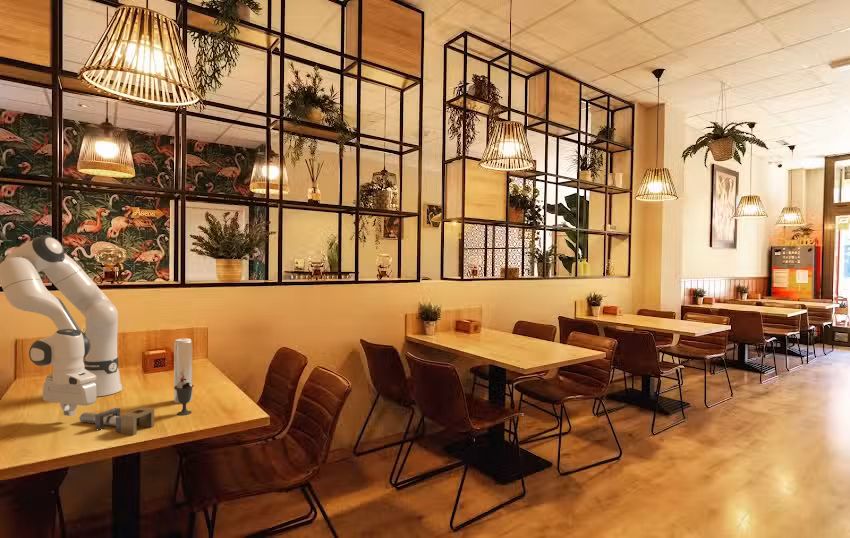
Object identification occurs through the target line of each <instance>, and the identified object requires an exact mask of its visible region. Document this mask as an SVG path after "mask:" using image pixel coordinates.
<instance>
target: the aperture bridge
mask: <svg viewBox="0 0 850 538" xmlns="http://www.w3.org/2000/svg"><path fill="white" fill-rule="evenodd" d="M137 413H138V414H137ZM120 416H121V433H120V434H121V435H129V436H136V435H137V428H138V427H144V428H151V429H152V428H154V427H155V408H154V407H153V408H152V407H146V406H145V407H143V406H142V407H141V406H140V407H138V408H136V409H134V410H133V409H132V410H130V411H129V412H125V413H123V414H120ZM136 418H139V426H137V425H136Z"/></svg>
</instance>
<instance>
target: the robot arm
mask: <svg viewBox="0 0 850 538" xmlns="http://www.w3.org/2000/svg"><path fill="white" fill-rule="evenodd" d="M40 272H43V273H44V274H45V275H46V277H47V278H48V279H49V280H50V282H51V283H52V284H53V285H54V287H56V289H57V290H59V291H60V293H61V294H62V295H63V296H64V297H65V298H66V300H67V301H69V303H71V304H72V305H73V306H74V307H75V308H76V309H77V310H78V311H79V312H80V313H81V314H82V315H83V316H84V318H85V332H83V331H82V330H81V329H80V327H79V325H78V323H77V322H76V321H75V320H74V318H73V316H72V315H71V312H70V311H69V310H68V308H67V307H66V305H65V304H64V303H63V302H62V300H61V298H59V297H57V296H55V295H53V293H52V292H50V291H49V289H47V287H46V285H45V284H44V283H43V280H42V278H41V276H40V274H39V273H40ZM0 284H1V289H2V291H3V293H4V295H5V297H6V300H7V302H8V303H9V304H10V305H11V306H12V307H13V308H16V309H17V310H21V311H24V312H30V313H35V314H39V315H41V316H42V315H43V316H44V317H45V316H46V317H47V318H49V319H50V320H52V322H53V324H54V325H55V327H56V328H57V330H56V331H54V333H53V334H51V335H50V336H47V337H44V338H41V339H37V340H35V341H34V342H32V344H31V345H30V347H29V351H28V356H29V360H30V361H31V362H32V363H33V364H34V365H36V366H39V367H49V366H52V374H51V373H50V374H48V375H47V376H46V377H45V381H44V383H43V386H42V395H41V396H42V400H43V401H45V402H52V403H58V404H59V403H60V404H59V405H60V407H61V410H62V411H63V414H62V415H63V416H67V417H68V416H69V417H72V416H74V415H75V413H76V409H77V407H78V406H84V407H87V406H90V405H93V404H95V402H96V401H97V397H105V396H110V395H113V394H117V393H119V392H122V390H123V384H122V382H121V375H120V369H119V366H120V363H119V362H120V360H119V359H120V358H119V357H118V333H119V331H118V330H119V329H118V328H119V311H118V309H117V307H116V306H115V305H114V303H113V302H112V301H111V300H110V299H109V297H108V296H106V294H105V293H104V292H103V291H102V290H101V288H99V286H98V285H97V284H96V283H95V281H93V279H92V278H91V277H90V276H89V275H88V274H87V273H86V272H85V270H83V268H82V267H81V266H80V265H79V264H78V263H77V262H76V261H75V260H74V259H72V258H71V256H69V255H68V254H67V253H65V248H64V247H63V244H62V243H61V242H60V241H59V240H58V239H56V238H55V237H52V236H50V235H41V236H38V237H36V238H34V239H33V240H30V241H28V242H26V243H24V244H21V245H19V246H18V247H17V248H15V249H14V250H13V251H11V252H10V253H8V254H5V255H4V256H3V257H2V258H1V259H0ZM84 359H85V360H84Z"/></svg>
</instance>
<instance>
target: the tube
mask: <svg viewBox="0 0 850 538" xmlns="http://www.w3.org/2000/svg"><path fill="white" fill-rule="evenodd" d="M97 414H98V413H92V412H83V413H82V414H81V415H80V416H79V421H80V422H81V423H86V422H87V423H88V424H94V423H95V415H97ZM116 417H119V416H112V414H111V415H109V416H106V417H103V426H111V427H112V426H113V427H116Z"/></svg>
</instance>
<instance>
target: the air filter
mask: <svg viewBox="0 0 850 538" xmlns="http://www.w3.org/2000/svg"><path fill="white" fill-rule="evenodd" d="M173 345H174V346H173V347H174V348H173V351H174V353H173V359H174V360H173V361H174V362H173V363H174V365H173V366H174V367H173V368H174V369H173V371H174V372H173V373H174V374H173V377H174V378H173V379H174V380H173V382H174V383H173V384H174V385H173V389H174V387H175V386H178V384H179V382H180V381H181V378H182V375H183V378H184V379H187V380H188V381H189V383H190V384H192V385H193V340H192V339H191V338H177V339H175V340H174V343H173ZM180 373H182V374H180ZM173 396H174V398H173V401H174V403H175V404H181V403H180V402H179V401H178V396H177V391H176V389H174V393H173ZM192 401H193V392H192V393H191V399H190V401H189V402H188V403H191V402H192Z"/></svg>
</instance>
